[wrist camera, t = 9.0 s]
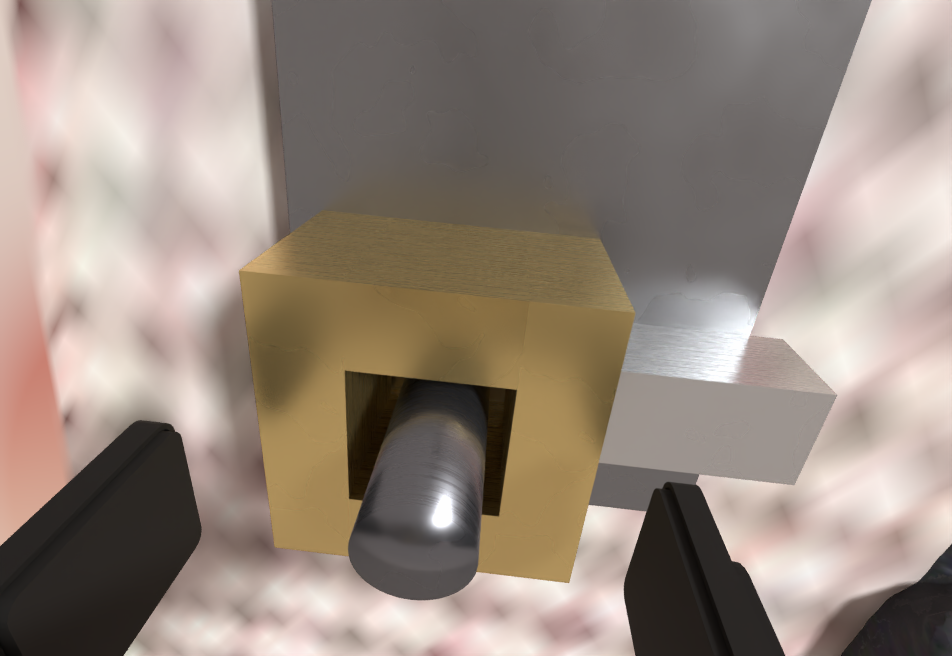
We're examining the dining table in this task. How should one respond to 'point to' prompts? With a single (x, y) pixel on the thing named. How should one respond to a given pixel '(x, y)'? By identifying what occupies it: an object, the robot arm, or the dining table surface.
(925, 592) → the dark slate chunk
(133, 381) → the dining table surface
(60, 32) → the dining table surface
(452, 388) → the grey metal peg
